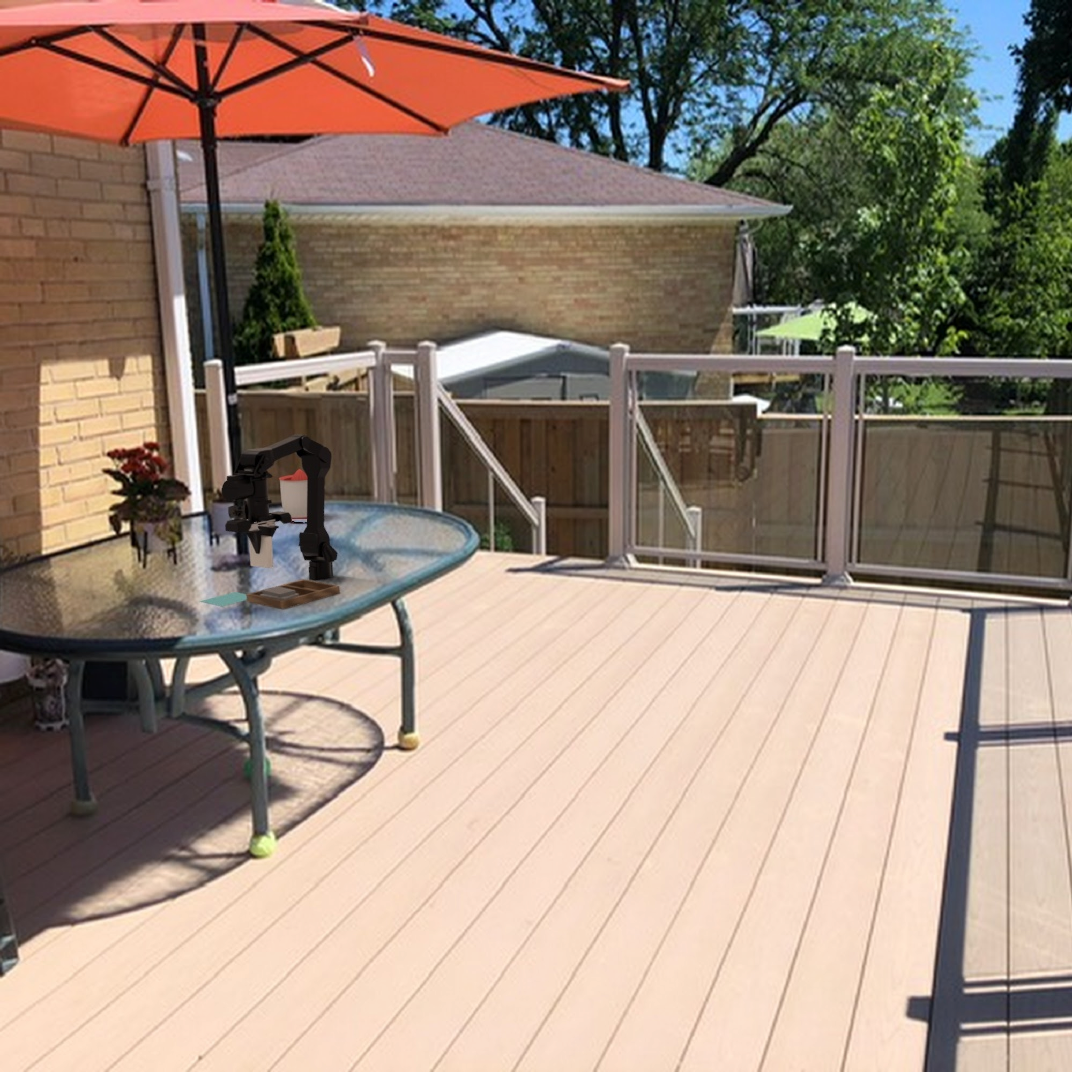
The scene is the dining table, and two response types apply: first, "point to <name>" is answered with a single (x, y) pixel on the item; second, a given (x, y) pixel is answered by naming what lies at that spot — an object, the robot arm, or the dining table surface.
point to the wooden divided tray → (302, 587)
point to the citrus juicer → (294, 494)
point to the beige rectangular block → (262, 553)
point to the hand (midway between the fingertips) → (261, 552)
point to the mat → (226, 599)
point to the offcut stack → (279, 593)
